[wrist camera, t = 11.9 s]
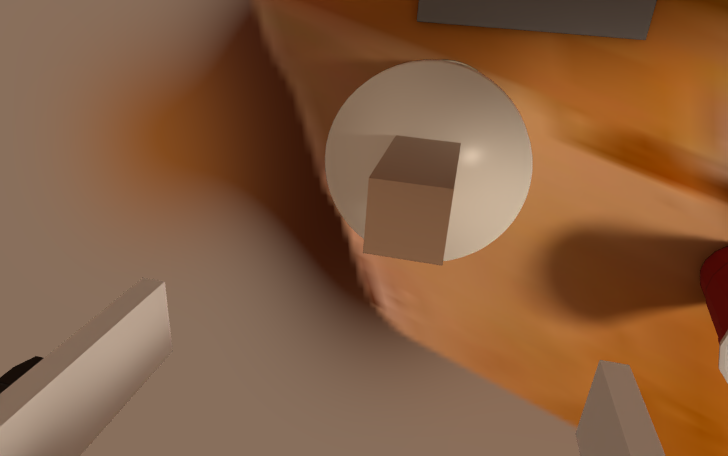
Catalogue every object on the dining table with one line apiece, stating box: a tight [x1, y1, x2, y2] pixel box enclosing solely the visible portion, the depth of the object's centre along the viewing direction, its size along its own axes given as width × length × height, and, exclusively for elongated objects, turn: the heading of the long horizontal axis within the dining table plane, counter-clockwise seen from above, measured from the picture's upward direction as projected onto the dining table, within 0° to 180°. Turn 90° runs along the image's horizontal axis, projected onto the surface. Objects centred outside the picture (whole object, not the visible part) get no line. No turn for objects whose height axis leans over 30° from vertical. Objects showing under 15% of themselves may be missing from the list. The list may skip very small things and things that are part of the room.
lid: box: [325, 60, 532, 265], centre depth 29 cm, size 13×13×10 cm
